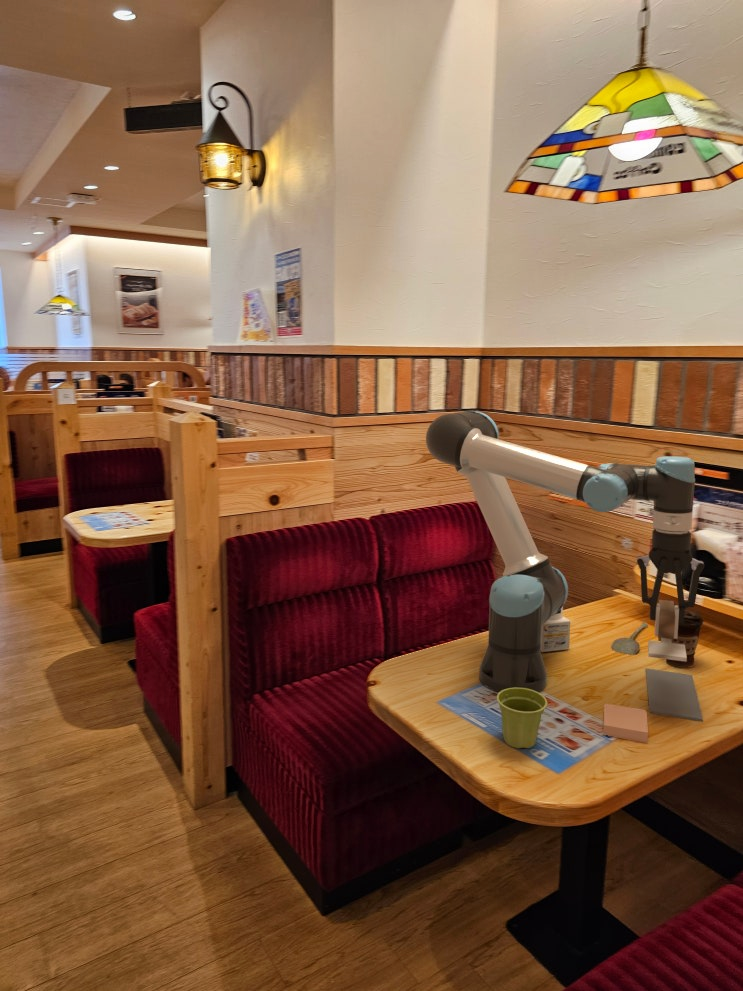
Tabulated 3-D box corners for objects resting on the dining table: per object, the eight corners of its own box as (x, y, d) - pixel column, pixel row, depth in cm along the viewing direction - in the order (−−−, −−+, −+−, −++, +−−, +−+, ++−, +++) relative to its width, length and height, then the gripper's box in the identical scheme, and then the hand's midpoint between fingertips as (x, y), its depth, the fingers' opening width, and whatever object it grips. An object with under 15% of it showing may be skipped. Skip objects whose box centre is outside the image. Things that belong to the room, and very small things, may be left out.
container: (542, 652, 167) (543, 602, 165) (527, 641, 174) (528, 593, 172) (569, 649, 169) (571, 599, 167) (553, 638, 176) (555, 591, 174)
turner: (648, 656, 135) (649, 628, 134) (648, 623, 153) (649, 598, 152) (686, 661, 133) (688, 632, 132) (681, 627, 150) (683, 601, 149)
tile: (603, 714, 139) (603, 736, 131) (604, 703, 139) (603, 724, 130) (645, 721, 136) (647, 744, 128) (646, 710, 136) (648, 732, 128)
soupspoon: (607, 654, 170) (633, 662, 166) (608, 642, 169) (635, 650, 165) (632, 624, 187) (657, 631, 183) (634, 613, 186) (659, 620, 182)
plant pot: (553, 739, 129) (556, 698, 127) (529, 760, 122) (532, 717, 120) (510, 722, 135) (512, 682, 133) (485, 741, 128) (487, 700, 127)
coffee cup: (703, 672, 157) (709, 620, 155) (665, 669, 159) (670, 617, 156) (693, 657, 166) (698, 607, 163) (657, 654, 167) (662, 604, 165)
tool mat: (649, 712, 139) (649, 710, 139) (645, 670, 158) (645, 668, 158) (702, 721, 136) (702, 719, 136) (692, 676, 155) (692, 674, 155)
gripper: (630, 531, 141) (625, 636, 145) (716, 536, 135) (708, 646, 139) (631, 524, 148) (626, 624, 152) (712, 528, 142) (705, 633, 146)
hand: (665, 634), depth 145 cm, fingers closed on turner, 3 cm apart
